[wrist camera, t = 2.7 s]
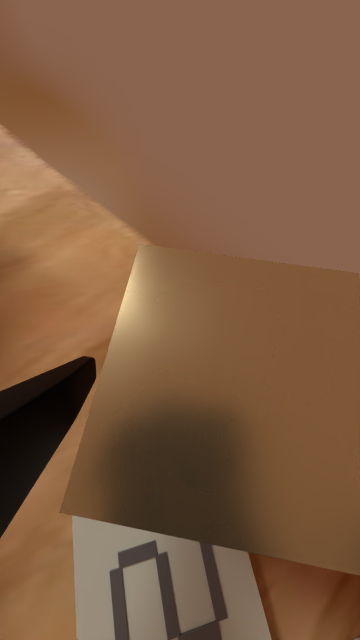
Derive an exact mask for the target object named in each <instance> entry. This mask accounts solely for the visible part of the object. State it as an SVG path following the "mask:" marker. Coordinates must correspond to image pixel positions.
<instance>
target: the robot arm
mask: <svg viewBox="0 0 360 640" xmlns="http://www.w3.org/2000/svg"><path fill="white" fill-rule="evenodd" d="M95 379H96V363H95V359H94V358H93V357H87V356H83V357H80V358H78V359H75V360H73V361H71V362H68V363H66V364H64V365H61V366H59V367H57V368H54V369H52V370H49V371H47V372H45V373H42V374H40V375H38V376H35V377H33V378H31V379H28V380H26V381H24V382H21V383H19V384H17V385H14V386H12V387H9V388H7V389H5V390H2V391H0V538H1V536H2V535H3V533H4V532H5V530H6V528H7V527H8V525H9V524H10V522H11V521H12V519H13V517H14V516H15V514H16V513H17V511H18V510H19V508H20V506H21V505H22V503H23V502H24V500H25V498H26V497H27V495H28V494H29V492H30V491H31V489H32V487H33V486H34V484H35V483H36V481H37V479H38V478H39V476H40V475H41V473H42V472H43V470H44V468H45V467H46V465H47V464H48V462H49V460H50V459H51V457H52V456H53V454H54V453H55V451H56V449H57V448H58V446H59V445H60V443H61V441H62V440H63V438H64V437H65V435H66V434H67V432H68V430H69V429H70V427H71V426H72V424H73V422H74V421H75V419H76V417H77V415H78V414H79V412H80V410H81V408H82V406H83V404H84V402H85V400H86V398H87V396H88V394H89V392H90V390H91V388H92V386H93V384H94V382H95Z"/></svg>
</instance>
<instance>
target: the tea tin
mask: <svg viewBox="0 0 360 640" xmlns="http://www.w3.org/2000/svg"><path fill="white" fill-rule="evenodd" d="M60 513H64V514H69V515H73V516H78V517H83V518H88V519H93V520H97V521H102V522H107V523H112V524H116V525H121V526H126V527H131V528H135V529H140V530H145V531H150V532H154V533H159V534H164V535H169V536H173V537H178V538H183V539H188V540H192V541H197V542H202V543H207V544H211V545H216V546H221V547H226V548H230V549H235V550H240V551H245V552H249V553H254V554H259V555H264V556H268V557H273V558H278V559H283V560H287V561H292V562H297V563H302V564H306V565H311V566H316V567H321V568H325V569H330V570H335V571H340V572H344V573H349V574H354V575H359V576H360V279H359V274H358V273H352V272H344V271H337V270H330V269H322V268H315V267H307V266H300V265H293V264H285V263H277V262H270V261H262V260H255V259H248V258H240V257H233V256H226V255H218V254H211V253H203V252H196V251H188V250H181V249H174V248H166V247H159V246H151V245H144V244H140V245H139V248H138V251H137V255H136V258H135V261H134V265H133V268H132V271H131V275H130V278H129V282H128V285H127V288H126V292H125V295H124V298H123V302H122V305H121V308H120V312H119V315H118V318H117V322H116V325H115V328H114V332H113V335H112V338H111V342H110V345H109V349H108V352H107V355H106V359H105V362H104V365H103V369H102V372H101V375H100V379H99V382H98V385H97V389H96V392H95V395H94V399H93V402H92V406H91V409H90V412H89V416H88V419H87V422H86V426H85V429H84V432H83V436H82V439H81V442H80V446H79V449H78V452H77V456H76V459H75V463H74V466H73V469H72V473H71V476H70V479H69V483H68V486H67V489H66V493H65V496H64V499H63V503H62V506H61V509H60Z"/></svg>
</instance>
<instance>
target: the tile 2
mask: <svg viewBox="0 0 360 640" xmlns="http://www.w3.org/2000/svg"><path fill="white" fill-rule="evenodd" d="M72 525H73V551H74V578H75V604H76V631H77V640H272V639H271V635H270V631H269V628H268V624H267V620H266V617H265V613H264V609H263V606H262V602H261V598H260V595H259V591H258V587H257V584H256V580H255V576H254V573H253V569H252V565H251V562H250V558H249V554H248V552H245V551H240V550H235V549H230V548H226V547H221V546H216V545H211V544H207V543H202V542H197V541H192V540H188V539H183V538H178V537H173V536H169V535H164V534H159V533H154V532H150V531H145V530H140V529H135V528H131V527H126V526H121V525H116V524H112V523H107V522H102V521H97V520H93V519H88V518H83V517H78V516H73V515H72Z"/></svg>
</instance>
